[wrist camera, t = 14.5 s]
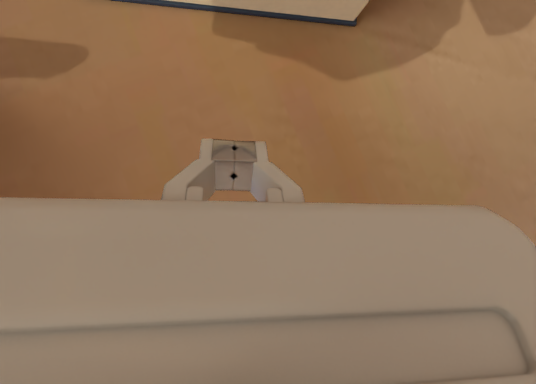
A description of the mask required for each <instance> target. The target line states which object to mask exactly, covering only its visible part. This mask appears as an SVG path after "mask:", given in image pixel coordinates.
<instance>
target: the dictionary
mask: <svg viewBox="0 0 536 384" xmlns="http://www.w3.org/2000/svg"><path fill="white" fill-rule="evenodd" d="M112 1H122V2H131V3H141V4H150V5H159V6H169V7H178V8H187V9H197V10H206V11H215V12H225V13H234V14H244V15H253V16H262V17H272V18H281V19H290V20H300V21H309V22H318V23H328V24H337V25H347V26H355V25H356V24H357V16H358V15H359V13H360V12H361V11H362V10H363V8H364V7H365V6H366V5H367V3H368V2H369V1H370V0H112Z"/></svg>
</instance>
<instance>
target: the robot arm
mask: <svg viewBox="0 0 536 384" xmlns="http://www.w3.org/2000/svg"><path fill="white" fill-rule="evenodd" d="M215 190H236V191H250V192H251V193H252V195H253V196H254V197H255V198H256V200H257V201H258V202H249V201H207V200H208V199H209V198H210V197H211V196H212V194H213V193H214V192H215ZM0 384H536V246H535V245H534V244H533V243H532V241H531V240H530V239H529V238H528V237H527V236H526V235H525V233H524V232H523V231H522V230H521V229H519V228H518V227H517V226H516V225H514V224H513V223H511V222H510V221H508V220H506V219H505V218H503V217H501V216H500V215H498V214H496V213H494V212H493V211H491V210H489V209H487V208H485V207H482V206H477V205H422V204H365V203H308V202H305V200H304V196H303V192H302V188H301V187H299V186H298V185H297V184H296V183H295V182H294V181H292V180H291V179H290V178H289V177H288V176H287V175H286V174H284V173H283V172H282V171H281V170H280V169H279V168H278V167H276V166H275V165H274V164H273V163H272V162H269V160H268V154H267V147H266V142H265V141H234V140H222V139H206V138H202V140H201V147H200V156H199V159H196V160H195V161H193V162H192V163H191V164H190V165H189V166H187V167H186V168H185V169H184V170H182V171H181V172H180V173H179V174H177V175H176V176H175V177H174V178H172V179H171V180H170V181H169V182H167V183H166V184H165V185H164V189H163V194H162V198H161V200H132V199H73V198H14V197H0Z"/></svg>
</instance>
